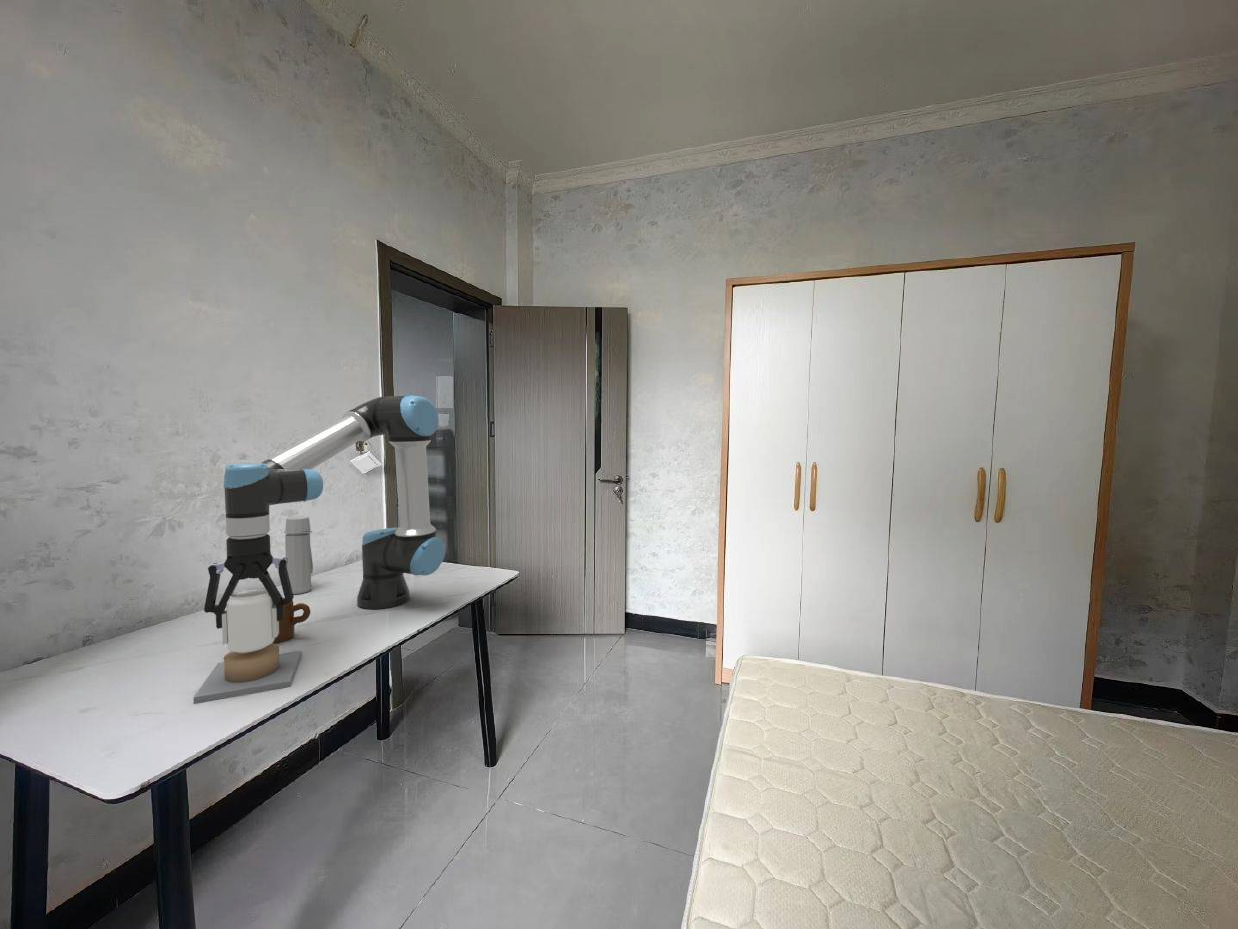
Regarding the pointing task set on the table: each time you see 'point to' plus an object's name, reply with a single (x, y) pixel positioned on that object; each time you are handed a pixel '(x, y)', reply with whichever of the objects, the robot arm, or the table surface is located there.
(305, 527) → the water bottle
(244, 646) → the beverage can
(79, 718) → the table surface
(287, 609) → the mug
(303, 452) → the robot arm
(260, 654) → the pedestal
